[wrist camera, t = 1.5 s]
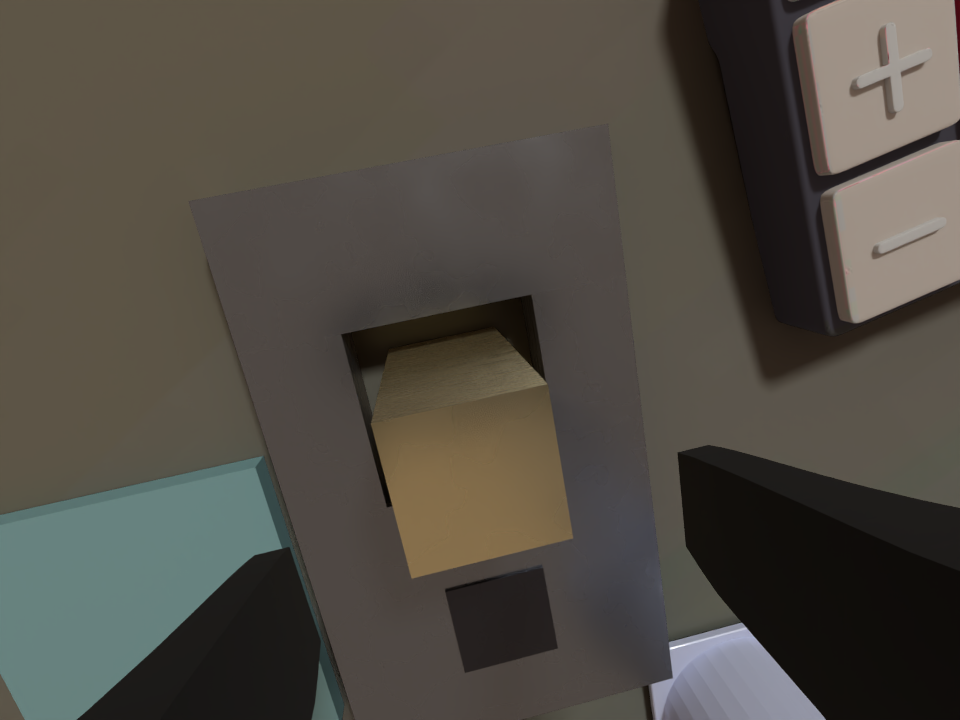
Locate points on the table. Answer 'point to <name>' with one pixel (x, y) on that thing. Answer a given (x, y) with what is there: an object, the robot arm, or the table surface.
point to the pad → (128, 581)
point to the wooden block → (468, 452)
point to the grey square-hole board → (347, 416)
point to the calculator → (846, 149)
